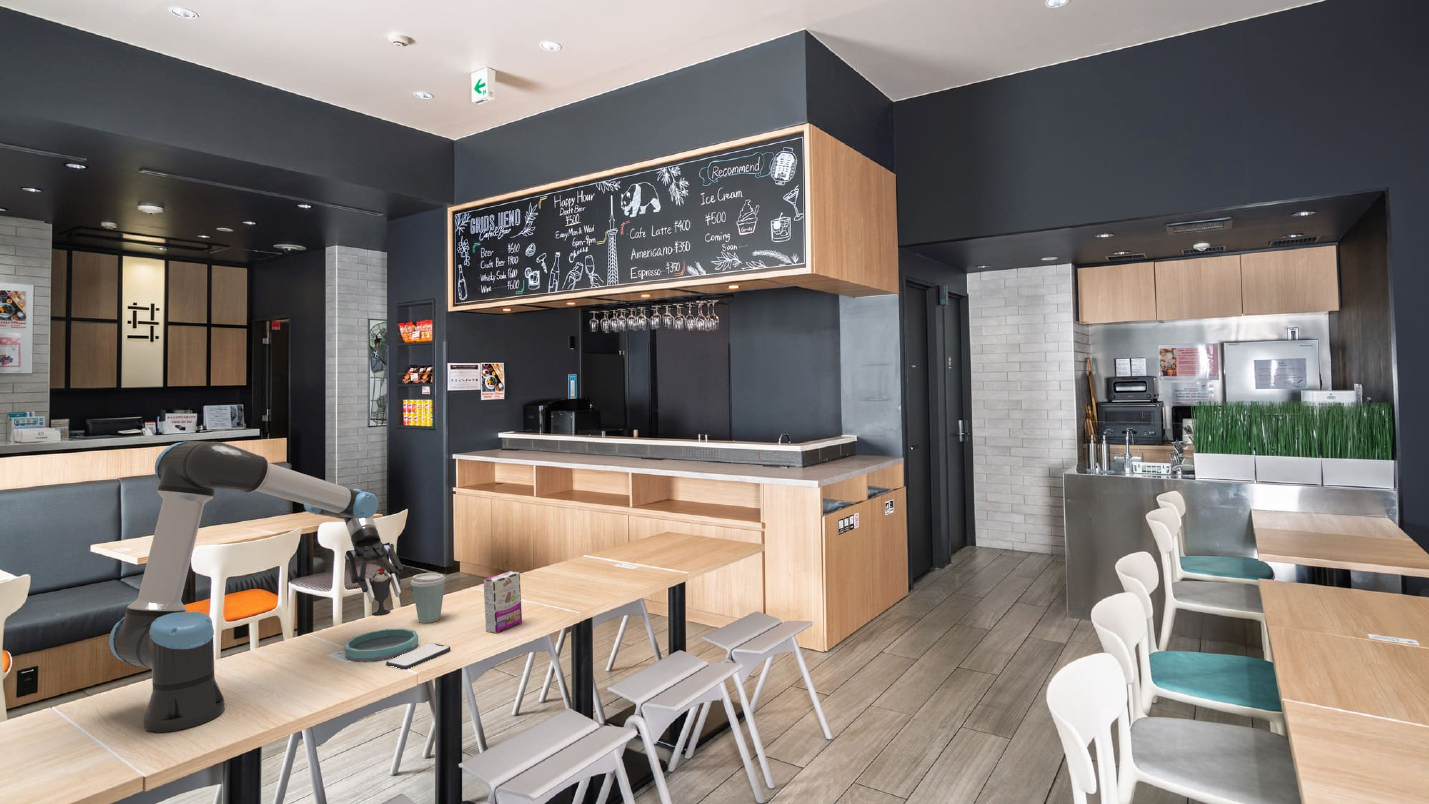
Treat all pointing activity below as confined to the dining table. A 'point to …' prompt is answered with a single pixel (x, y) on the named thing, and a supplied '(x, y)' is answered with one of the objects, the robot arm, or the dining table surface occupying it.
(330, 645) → the dining table surface
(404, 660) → the smartphone
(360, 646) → the round tray
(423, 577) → the disposable coffee cup
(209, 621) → the robot arm
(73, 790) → the dining table surface
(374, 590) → the sundae
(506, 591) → the candy bar box
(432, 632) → the dining table surface
